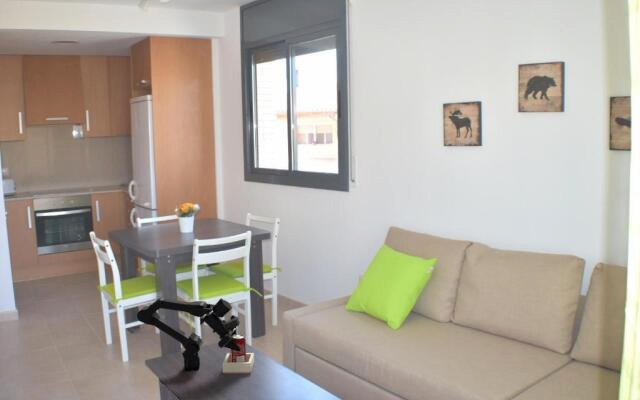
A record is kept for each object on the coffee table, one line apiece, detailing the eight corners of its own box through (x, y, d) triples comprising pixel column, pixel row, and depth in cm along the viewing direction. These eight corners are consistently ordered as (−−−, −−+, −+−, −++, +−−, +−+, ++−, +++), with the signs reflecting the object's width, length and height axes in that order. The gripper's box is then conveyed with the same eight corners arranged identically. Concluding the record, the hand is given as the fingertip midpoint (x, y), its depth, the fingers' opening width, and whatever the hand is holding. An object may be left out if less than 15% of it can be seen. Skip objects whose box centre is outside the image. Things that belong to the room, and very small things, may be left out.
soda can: (246, 364, 262) (246, 338, 261) (231, 365, 261) (231, 339, 259) (244, 358, 269) (244, 333, 267) (230, 359, 267) (229, 334, 266)
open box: (222, 373, 259) (222, 363, 258) (227, 362, 271) (227, 353, 271) (250, 373, 259) (250, 363, 258) (254, 362, 271) (254, 352, 270)
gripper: (225, 318, 253) (250, 343, 254) (232, 305, 271) (256, 329, 272) (207, 335, 254) (233, 360, 255) (215, 322, 272) (239, 345, 273)
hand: (241, 347), depth 264 cm, fingers closed on soda can, 6 cm apart
